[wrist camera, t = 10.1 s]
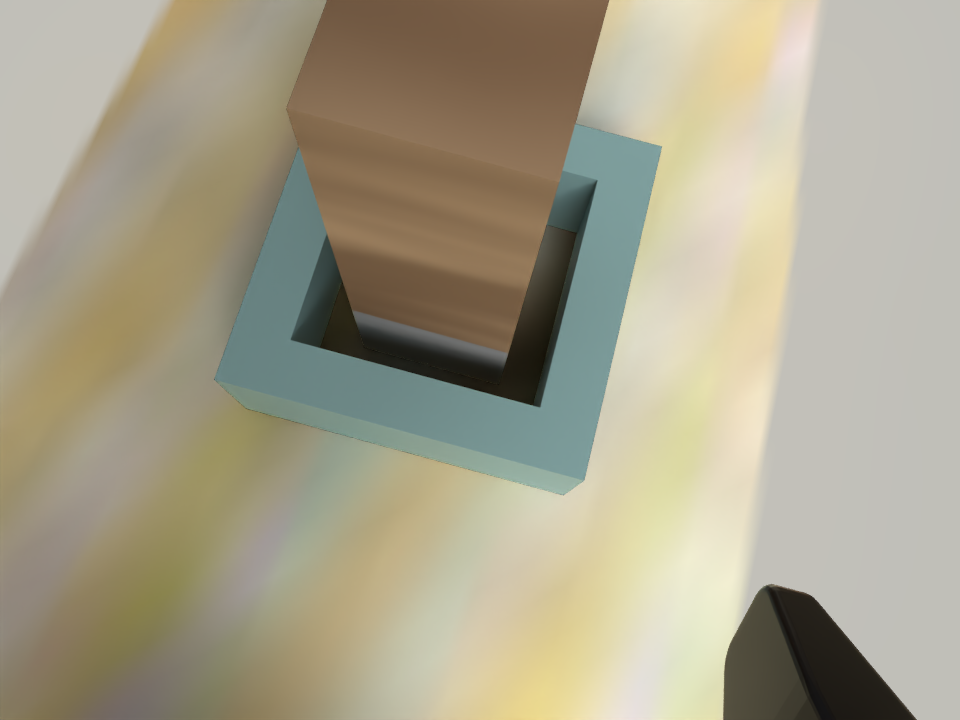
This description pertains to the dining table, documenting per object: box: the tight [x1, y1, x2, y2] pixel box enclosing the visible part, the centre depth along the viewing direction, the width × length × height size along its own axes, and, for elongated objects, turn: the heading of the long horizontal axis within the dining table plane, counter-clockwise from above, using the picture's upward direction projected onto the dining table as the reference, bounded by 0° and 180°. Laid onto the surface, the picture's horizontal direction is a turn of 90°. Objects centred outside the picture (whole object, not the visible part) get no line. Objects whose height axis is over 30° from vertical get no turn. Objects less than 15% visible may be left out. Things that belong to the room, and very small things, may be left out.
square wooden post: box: [286, 0, 609, 385], centre depth 16 cm, size 4×4×11 cm
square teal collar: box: [214, 124, 662, 495], centre depth 20 cm, size 8×8×3 cm
